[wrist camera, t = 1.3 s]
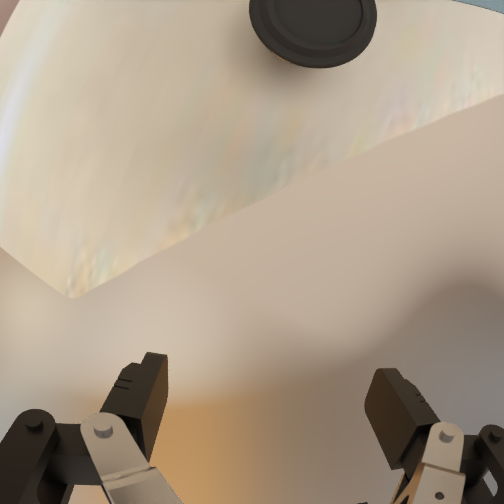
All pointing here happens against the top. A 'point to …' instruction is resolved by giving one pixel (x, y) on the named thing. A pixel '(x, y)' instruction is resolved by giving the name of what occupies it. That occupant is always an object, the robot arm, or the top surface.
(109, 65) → the top surface
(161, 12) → the top surface
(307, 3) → the coffee cup
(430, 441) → the robot arm
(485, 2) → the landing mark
